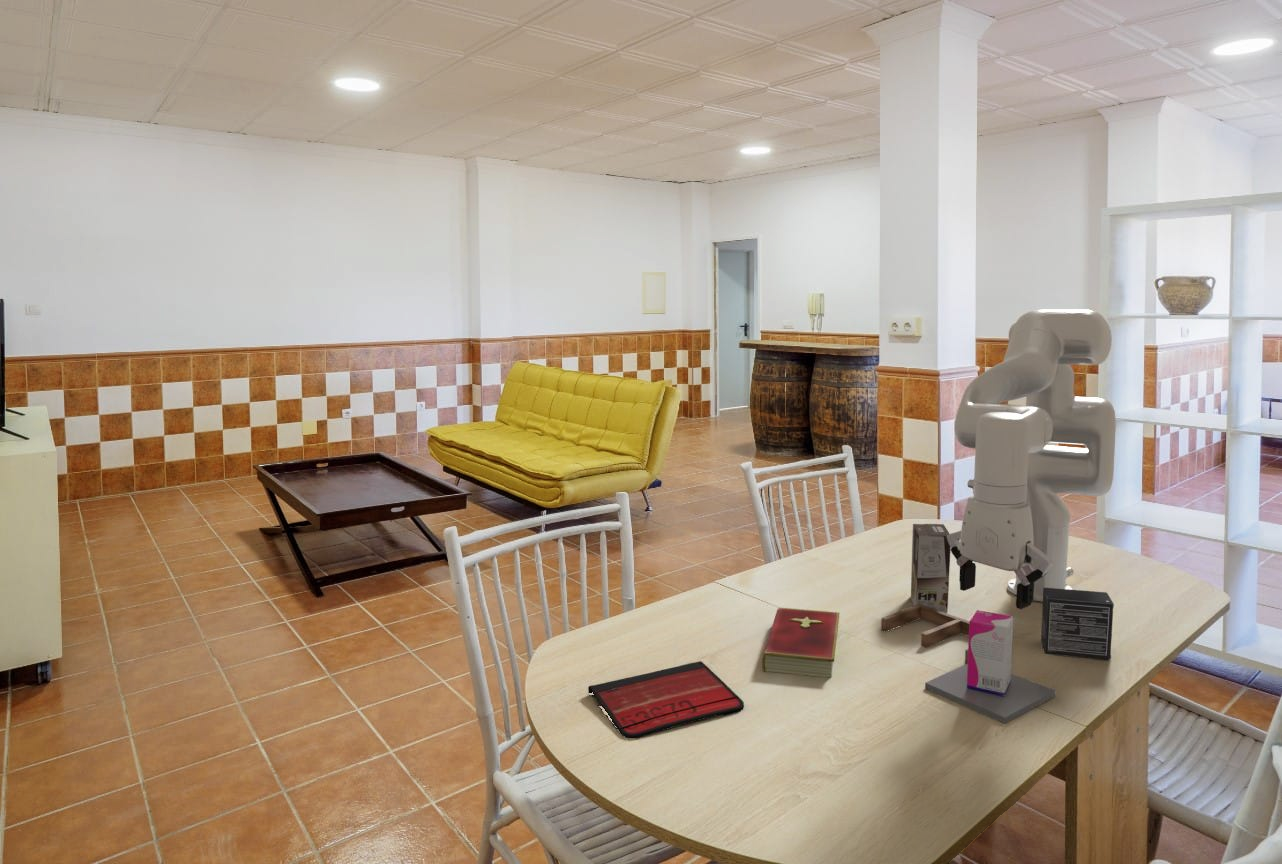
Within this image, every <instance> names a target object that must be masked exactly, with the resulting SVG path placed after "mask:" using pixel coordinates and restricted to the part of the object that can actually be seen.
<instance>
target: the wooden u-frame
mask: <svg viewBox="0 0 1282 864" xmlns="http://www.w3.org/2000/svg"><path fill="white" fill-rule="evenodd" d="M880 620H881V621H880V623H881V624H880V631H882V632H884V631H885V632H884V633H887V632H889V631H892V630H894V629H897V628H899V627H898V626H900V627H902V626H904V625H907V623H908V624H910V623H913V622H915V621H918V620H923V621H926V622H928V623H931V624H933V625H937V626H936V627H934V628H931V629H928V630H925V631H923V632H921V634H920V636H921V637H920V646H921V647H922V648H925V649H926V648H928V647H932V646H933V645H936V644H939V643H941V642H944V641H945V640H948V639H950V637H951V638H953V637H956V636H958V635H960V634H961V635H964V636H966V635H967V637H969V621H970V620H967V619H964V618H961V617H959V616H956V615H952V614H950V613H948V612H947V613H944V612H941V611H938V610H935V609H933V608H930V607H927V606H924V605H921V604H918V605H915V606H914V605H912V606H910V607H907V608H905V609H902V610H899V611H897V612H894V613H891V614H889V615H886V616H884V617H881V619H880ZM896 627H897V628H896ZM893 628H894V629H893ZM891 629H892V630H891ZM888 630H889V631H888ZM886 631H887V632H886ZM965 664H968V648H966V649H965V651H964V665H965Z"/></svg>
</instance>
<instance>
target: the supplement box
mask: <svg viewBox="0 0 1282 864" xmlns="http://www.w3.org/2000/svg"><path fill="white" fill-rule="evenodd" d="M968 621H969V636H968V648H967V649H968V669H967V688H968V689H973V690H977V691H982V692H987V693H991V694H995V695H1000V696H1005V694H1006V691H1007V689H1008V687H1009V685H1010V682H1011V673H1012V655H1013V654H1012V652H1013V635H1014V634H1013V632H1014V631H1013V629H1014V615H1008V614H1003V613H996V612H990V611H984V610H979V609H978V610H976V611H975V613H974V614H973V616H972V617H971V619H970V620H968Z"/></svg>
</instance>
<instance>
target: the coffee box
mask: <svg viewBox="0 0 1282 864" xmlns="http://www.w3.org/2000/svg"><path fill="white" fill-rule="evenodd" d="M949 534H950V532H949V530H948V529H947V527H946V526H945V525H944V523H943V524H942V523H923V524H922V523H913V524H912V537H911V538H912V540H911V541H912V542H911V543H912V544H911V574H910V575H911V578H910V579H911V581H910V584H911V585H910V598H911V601H912V603H913V606H915V605H918V604H921V605H924V606H927V607H930V608H933V609H935V610H938V611H941V612H944V613H947V614H948V607H949V590H950V589H949V587H950V568H951V567H950V566H951V563H950V562H951V547H950V545H949V543H948V540H947V535H949Z"/></svg>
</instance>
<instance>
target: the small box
mask: <svg viewBox="0 0 1282 864" xmlns="http://www.w3.org/2000/svg"><path fill="white" fill-rule="evenodd" d="M1041 606H1042V610H1041V611H1042V613H1041V628H1040V632H1041V633H1040V643H1042V644H1041V647H1042V650H1043V653H1044V654H1045V655H1055V656H1065V657H1066V656H1067V657H1073V658H1083V659H1094V660H1101V661H1111V660H1112V655H1111V654H1112V651H1111V650H1112V638H1113V621H1114V620H1113V618H1114V617H1113V616H1114V607H1115V604H1114V602H1113V600H1112V598H1111V597H1110V594H1108V592H1107V591H1091V590H1080V589H1078V590H1077V589H1073V590H1069V589H1056V588H1043V602H1042V605H1041Z"/></svg>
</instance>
